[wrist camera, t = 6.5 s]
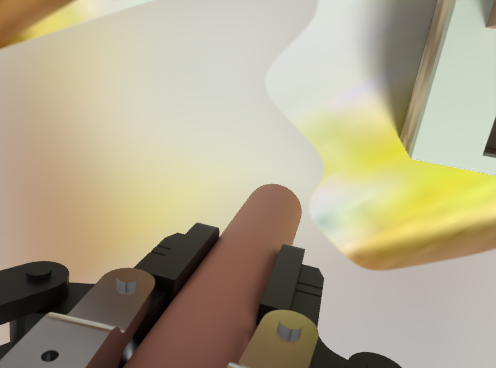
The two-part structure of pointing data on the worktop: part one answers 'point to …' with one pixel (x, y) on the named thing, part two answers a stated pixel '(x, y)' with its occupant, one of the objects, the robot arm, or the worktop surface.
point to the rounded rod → (224, 289)
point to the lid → (461, 92)
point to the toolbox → (424, 72)
